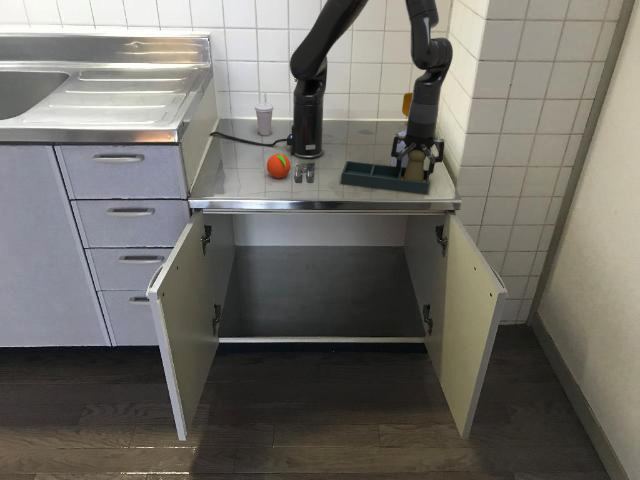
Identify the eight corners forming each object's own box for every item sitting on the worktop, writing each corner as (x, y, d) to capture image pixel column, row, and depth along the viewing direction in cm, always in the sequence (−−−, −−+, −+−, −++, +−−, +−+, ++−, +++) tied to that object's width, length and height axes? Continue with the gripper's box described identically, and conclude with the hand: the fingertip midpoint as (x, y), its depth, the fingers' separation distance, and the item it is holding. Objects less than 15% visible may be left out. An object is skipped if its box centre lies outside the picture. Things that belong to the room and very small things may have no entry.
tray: (341, 183, 145) (341, 173, 143) (345, 170, 152) (346, 160, 150) (427, 194, 141) (428, 183, 139) (427, 180, 148) (429, 170, 146)
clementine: (296, 180, 146) (296, 157, 142) (275, 185, 143) (275, 162, 139) (283, 169, 152) (283, 147, 148) (262, 174, 148) (262, 152, 144)
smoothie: (273, 137, 172) (272, 96, 164) (254, 136, 172) (252, 96, 164) (274, 130, 177) (274, 90, 170) (256, 129, 177) (255, 90, 169)
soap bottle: (402, 179, 149) (413, 97, 135) (385, 167, 155) (393, 87, 141) (426, 173, 152) (439, 93, 138) (408, 161, 159) (419, 84, 145)
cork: (422, 189, 142) (428, 153, 136) (401, 186, 143) (406, 151, 137) (423, 180, 147) (429, 145, 141) (403, 177, 148) (407, 142, 142)
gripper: (394, 119, 132) (388, 175, 141) (449, 125, 130) (439, 181, 139) (397, 110, 138) (390, 163, 147) (449, 115, 136) (439, 169, 145)
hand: (414, 172), depth 143 cm, fingers open, 8 cm apart
